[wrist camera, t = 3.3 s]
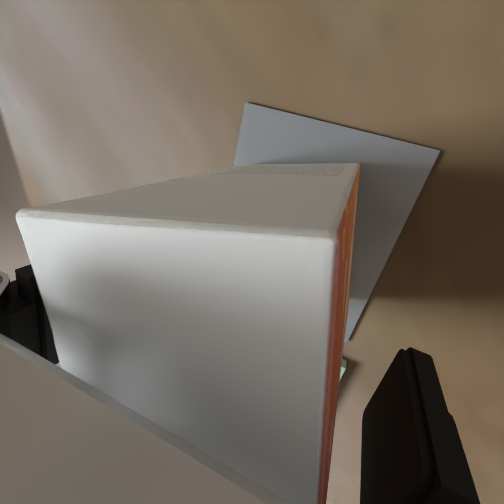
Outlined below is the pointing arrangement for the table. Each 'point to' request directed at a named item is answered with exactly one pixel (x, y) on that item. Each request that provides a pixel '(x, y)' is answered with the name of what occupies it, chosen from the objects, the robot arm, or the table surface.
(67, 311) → the small box
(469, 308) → the table surface
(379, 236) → the slate tile
